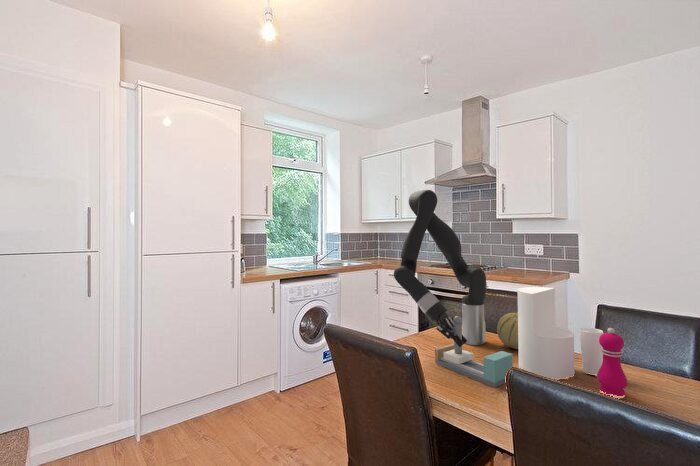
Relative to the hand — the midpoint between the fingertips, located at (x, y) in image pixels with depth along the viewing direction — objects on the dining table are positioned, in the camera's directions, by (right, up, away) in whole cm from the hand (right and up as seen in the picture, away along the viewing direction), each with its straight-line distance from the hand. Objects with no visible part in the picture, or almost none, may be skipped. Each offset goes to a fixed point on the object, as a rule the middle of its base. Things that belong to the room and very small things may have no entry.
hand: (463, 343), depth 127 cm
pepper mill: (+37, -8, -23) cm, 44 cm away
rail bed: (+2, -8, -4) cm, 9 cm away
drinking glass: (+42, -8, -8) cm, 43 cm away
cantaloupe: (+28, -8, +20) cm, 35 cm away
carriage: (-2, -6, +1) cm, 6 cm away
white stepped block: (+28, -8, -3) cm, 29 cm away
